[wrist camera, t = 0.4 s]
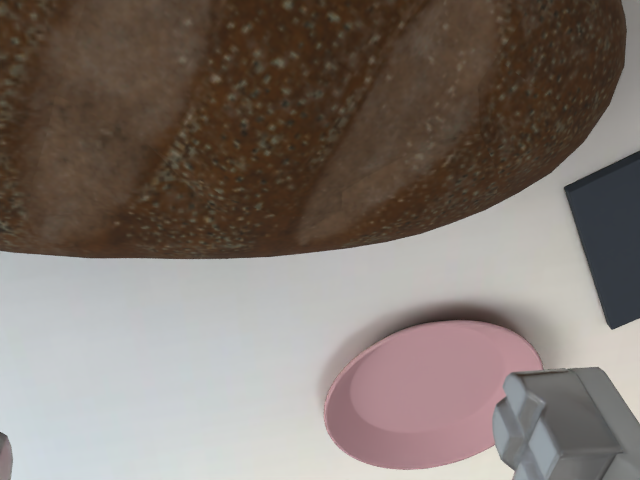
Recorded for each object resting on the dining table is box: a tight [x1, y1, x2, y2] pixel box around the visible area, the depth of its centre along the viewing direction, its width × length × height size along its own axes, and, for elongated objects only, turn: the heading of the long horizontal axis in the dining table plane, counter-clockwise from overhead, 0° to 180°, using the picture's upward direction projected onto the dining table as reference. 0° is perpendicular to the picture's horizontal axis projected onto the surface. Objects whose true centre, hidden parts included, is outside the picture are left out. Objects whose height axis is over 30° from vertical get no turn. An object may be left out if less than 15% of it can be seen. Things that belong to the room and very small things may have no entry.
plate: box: [324, 320, 544, 470], centre depth 38 cm, size 14×14×2 cm
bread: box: [0, 0, 627, 259], centre depth 21 cm, size 16×36×8 cm, turn 86°
